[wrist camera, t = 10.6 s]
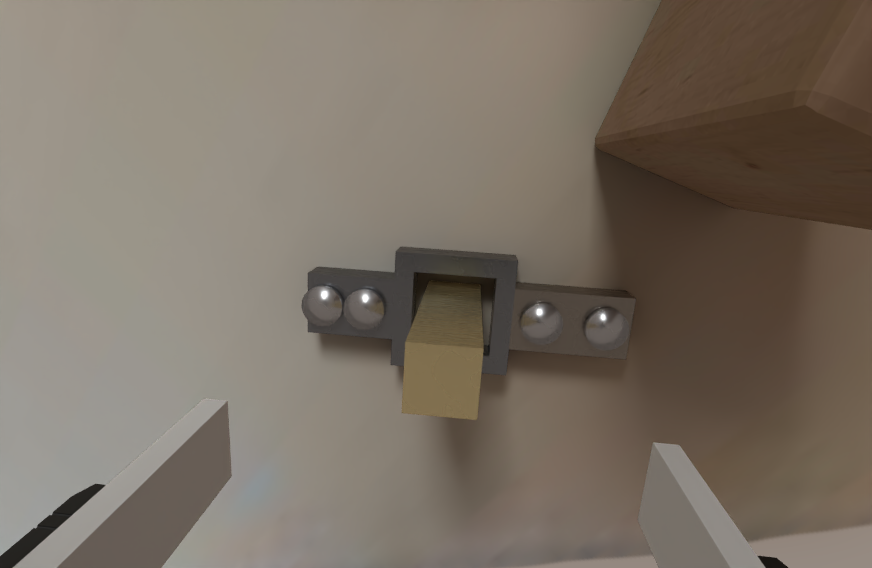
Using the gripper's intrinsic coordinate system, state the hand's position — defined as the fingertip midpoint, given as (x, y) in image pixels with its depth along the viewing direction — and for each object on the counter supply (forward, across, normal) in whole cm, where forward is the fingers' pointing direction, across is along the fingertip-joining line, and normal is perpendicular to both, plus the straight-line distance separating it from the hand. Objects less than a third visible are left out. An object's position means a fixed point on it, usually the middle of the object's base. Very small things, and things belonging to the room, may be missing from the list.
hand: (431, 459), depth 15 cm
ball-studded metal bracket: (+18, 0, -1) cm, 19 cm away
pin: (+18, 0, -1) cm, 19 cm away
